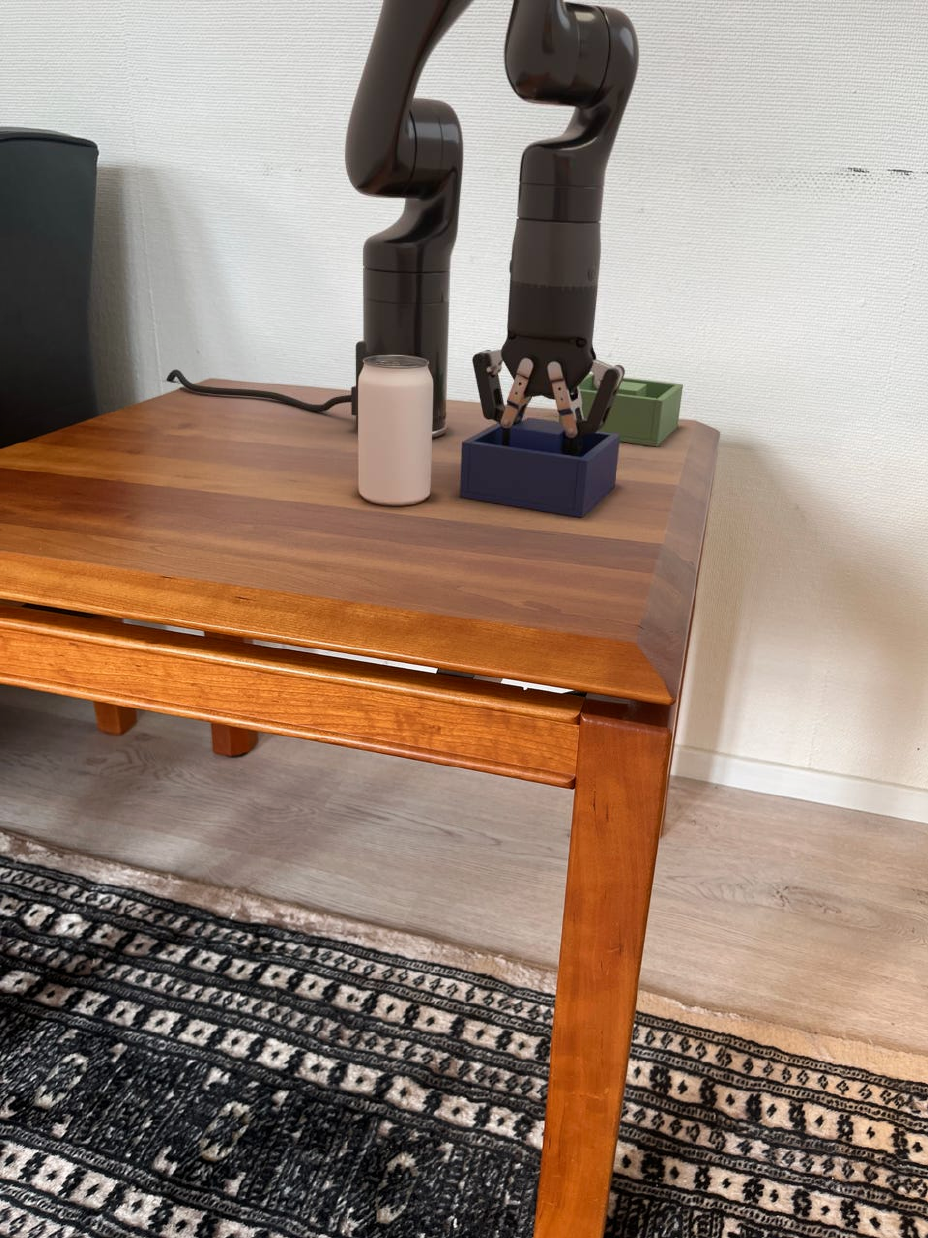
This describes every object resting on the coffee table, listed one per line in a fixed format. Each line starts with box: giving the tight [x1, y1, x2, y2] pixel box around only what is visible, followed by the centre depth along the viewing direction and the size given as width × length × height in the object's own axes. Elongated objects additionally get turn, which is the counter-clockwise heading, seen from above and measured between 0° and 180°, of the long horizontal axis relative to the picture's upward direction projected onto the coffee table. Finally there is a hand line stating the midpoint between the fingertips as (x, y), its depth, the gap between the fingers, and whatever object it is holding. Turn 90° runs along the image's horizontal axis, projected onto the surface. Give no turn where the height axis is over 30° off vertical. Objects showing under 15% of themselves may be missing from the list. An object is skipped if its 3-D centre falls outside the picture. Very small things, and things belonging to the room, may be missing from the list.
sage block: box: [597, 381, 647, 397], centre depth 114 cm, size 5×5×5 cm
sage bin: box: [558, 372, 684, 447], centre depth 114 cm, size 12×11×5 cm
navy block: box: [509, 416, 566, 454], centre depth 90 cm, size 5×5×5 cm
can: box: [357, 355, 433, 507], centre depth 86 cm, size 6×6×12 cm
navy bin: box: [459, 422, 620, 518], centre depth 91 cm, size 12×11×5 cm
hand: (539, 470), depth 91 cm, fingers closed on navy block, 4 cm apart
